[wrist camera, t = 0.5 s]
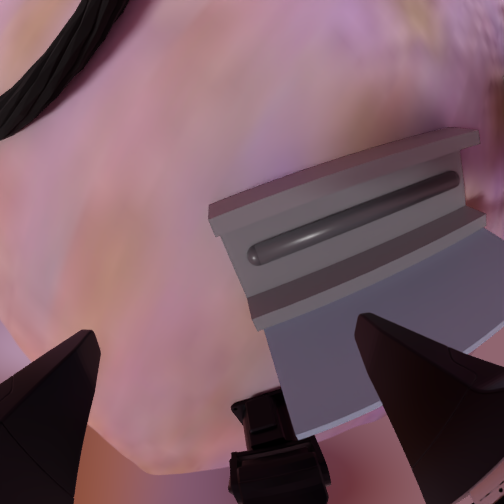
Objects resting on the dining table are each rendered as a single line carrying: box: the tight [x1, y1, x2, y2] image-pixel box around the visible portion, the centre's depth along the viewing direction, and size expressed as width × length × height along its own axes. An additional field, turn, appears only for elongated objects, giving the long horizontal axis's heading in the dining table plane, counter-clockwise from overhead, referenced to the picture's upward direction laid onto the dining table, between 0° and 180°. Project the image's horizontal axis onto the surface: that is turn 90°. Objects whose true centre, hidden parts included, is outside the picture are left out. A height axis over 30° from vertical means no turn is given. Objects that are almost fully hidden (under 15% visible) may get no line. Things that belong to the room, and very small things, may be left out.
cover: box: [264, 228, 504, 440], centre depth 17 cm, size 9×22×1 cm
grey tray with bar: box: [208, 127, 486, 331], centre depth 21 cm, size 9×23×4 cm, turn 109°
